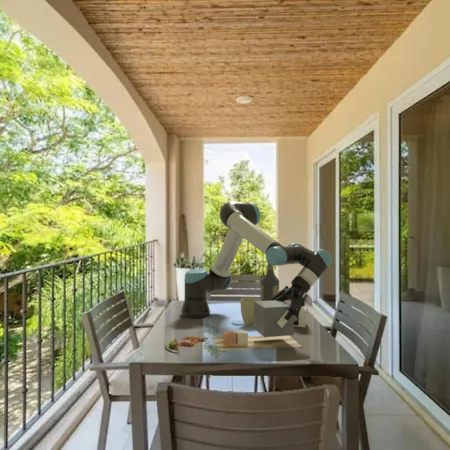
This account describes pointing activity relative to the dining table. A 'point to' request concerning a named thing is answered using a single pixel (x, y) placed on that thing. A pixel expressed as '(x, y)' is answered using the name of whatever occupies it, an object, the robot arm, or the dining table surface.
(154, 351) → the dining table surface
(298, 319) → the container
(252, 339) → the board
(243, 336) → the white block
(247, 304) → the mug
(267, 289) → the liquor
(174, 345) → the food
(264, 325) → the grey matte cube
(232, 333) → the terracotta block
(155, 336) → the dining table surface
